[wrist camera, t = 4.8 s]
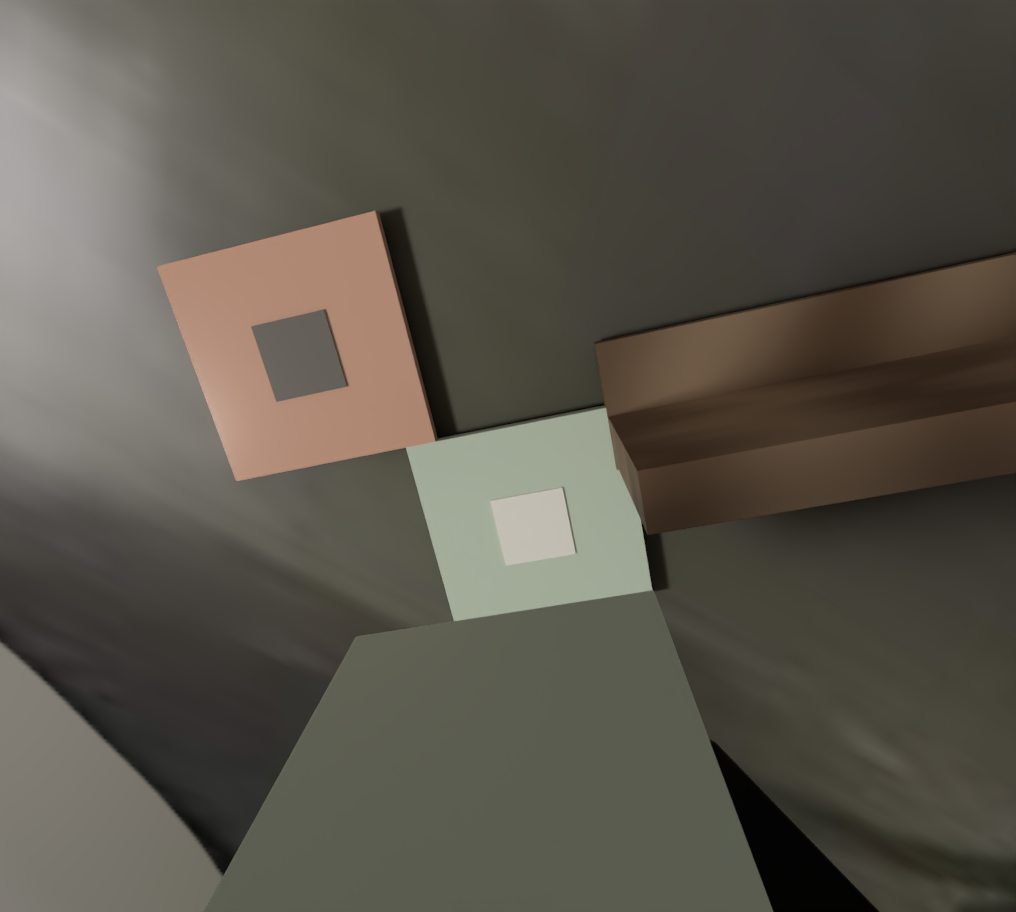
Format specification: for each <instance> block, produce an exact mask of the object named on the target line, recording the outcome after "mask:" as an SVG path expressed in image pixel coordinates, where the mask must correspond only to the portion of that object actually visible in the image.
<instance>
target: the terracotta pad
mask: <svg viewBox="0 0 1016 912" xmlns="http://www.w3.org/2000/svg"><path fill="white" fill-rule="evenodd" d="M157 269H158V272H159V274H160V277H161V280H162V282H163V285H164V288H165V290H166V293H167V296H168V299H169V301H170V304H171V307H172V309H173V312H174V315H175V317H176V320H177V323H178V325H179V328H180V331H181V334H182V336H183V339H184V342H185V344H186V347H187V350H188V352H189V355H190V358H191V360H192V363H193V366H194V369H195V371H196V374H197V377H198V379H199V382H200V385H201V387H202V390H203V393H204V395H205V398H206V401H207V404H208V406H209V409H210V412H211V414H212V417H213V420H214V422H215V425H216V428H217V430H218V433H219V436H220V439H221V441H222V444H223V447H224V449H225V452H226V455H227V457H228V460H229V463H230V465H231V468H232V471H233V474H234V476H235V479H236V481H240V480H245V479H250V478H255V477H260V476H265V475H270V474H275V473H280V472H285V471H290V470H295V469H300V468H305V467H310V466H315V465H320V464H325V463H330V462H335V461H340V460H345V459H350V458H356V457H361V456H366V455H371V454H376V453H381V452H386V451H391V450H396V449H401V448H406V447H411V446H416V445H421V444H426V443H431V442H436V440H437V439H438V437H437V433H436V429H435V426H434V422H433V418H432V414H431V410H430V406H429V403H428V399H427V395H426V391H425V387H424V383H423V379H422V376H421V372H420V368H419V364H418V360H417V356H416V353H415V349H414V345H413V341H412V337H411V333H410V329H409V326H408V322H407V318H406V314H405V310H404V306H403V303H402V299H401V295H400V291H399V287H398V283H397V280H396V276H395V272H394V268H393V264H392V260H391V256H390V253H389V249H388V245H387V241H386V237H385V233H384V230H383V226H382V222H381V218H380V214H379V213H378V212H376V211H373V212H369V213H365V214H361V215H357V216H353V217H349V218H345V219H341V220H337V221H333V222H329V223H326V224H322V225H318V226H314V227H310V228H306V229H302V230H298V231H294V232H290V233H286V234H282V235H278V236H275V237H271V238H267V239H263V240H259V241H255V242H251V243H247V244H243V245H239V246H235V247H231V248H227V249H224V250H220V251H216V252H212V253H208V254H204V255H200V256H196V257H192V258H188V259H184V260H180V261H177V262H173V263H169V264H165V265H161V266H157Z"/></svg>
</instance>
